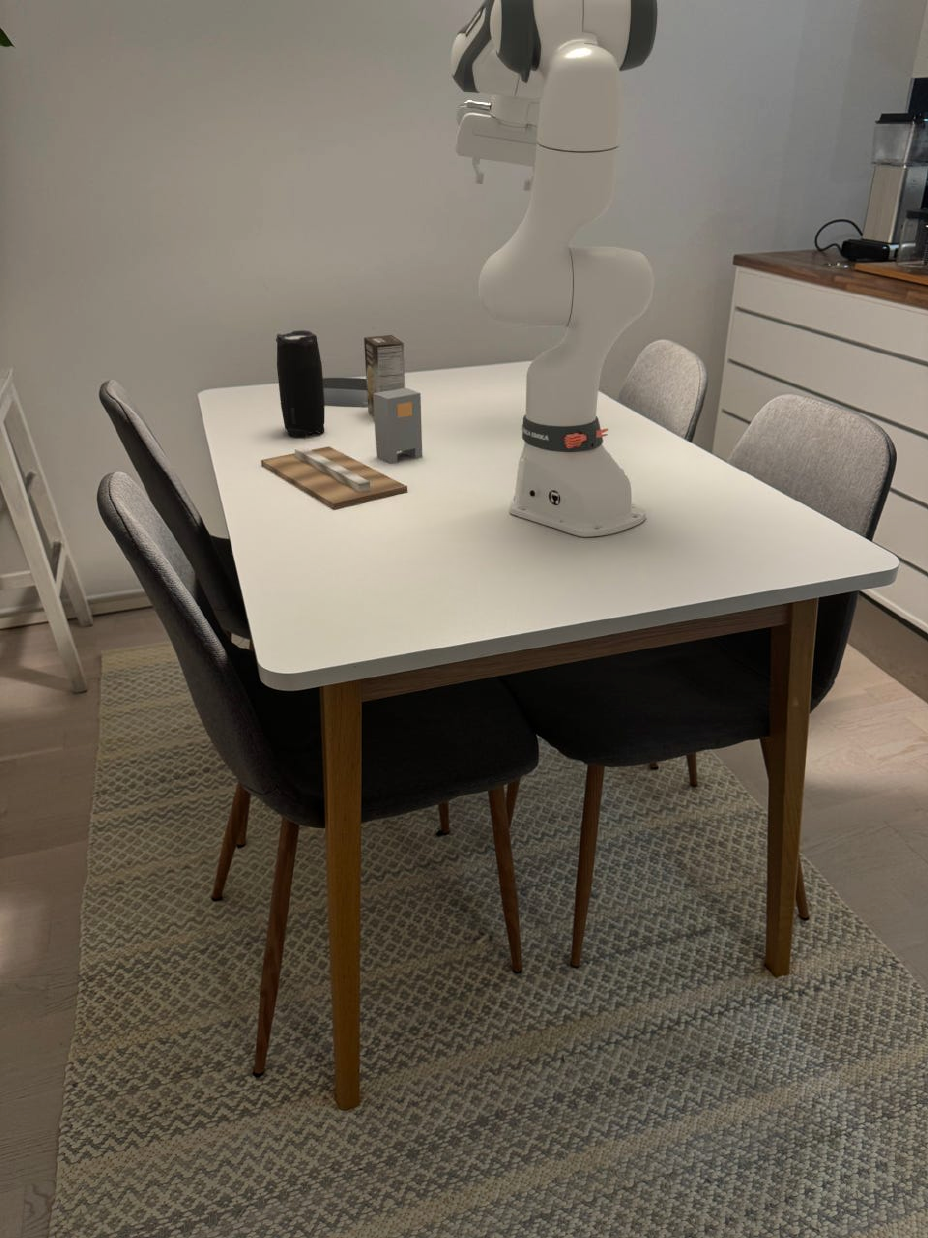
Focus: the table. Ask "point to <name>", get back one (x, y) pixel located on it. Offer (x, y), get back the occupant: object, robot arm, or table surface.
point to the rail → (333, 477)
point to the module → (397, 424)
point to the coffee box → (383, 366)
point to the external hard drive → (345, 392)
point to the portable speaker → (300, 383)
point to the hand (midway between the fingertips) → (503, 186)
